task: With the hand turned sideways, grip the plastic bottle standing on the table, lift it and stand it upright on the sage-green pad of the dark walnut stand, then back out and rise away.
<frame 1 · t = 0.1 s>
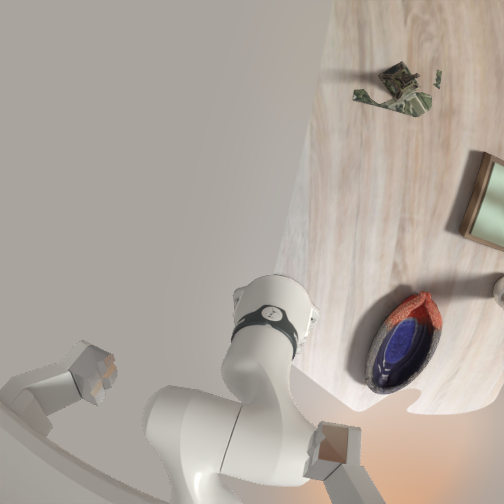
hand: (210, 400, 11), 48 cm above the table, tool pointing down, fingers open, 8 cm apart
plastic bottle: (502, 284, 52), on the table
dish: (401, 339, 64), on the table
eiffel tower figurine: (397, 83, 43), on the table
walnut stand: (499, 203, 45), on the table
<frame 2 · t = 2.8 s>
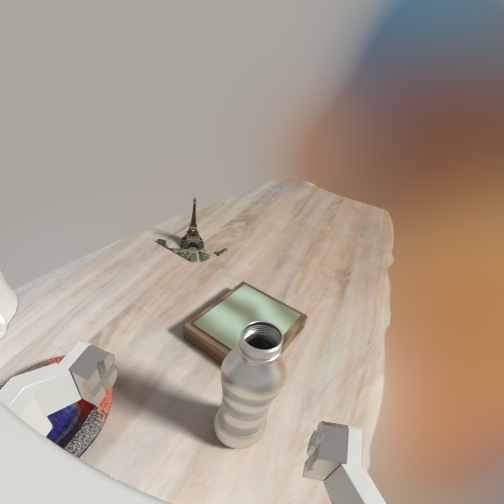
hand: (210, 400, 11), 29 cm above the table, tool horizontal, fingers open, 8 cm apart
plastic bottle: (237, 432, 37), on the table
dish: (45, 432, 30), on the table
eiffel tower figurine: (190, 247, 74), on the table
walnut stand: (246, 333, 53), on the table
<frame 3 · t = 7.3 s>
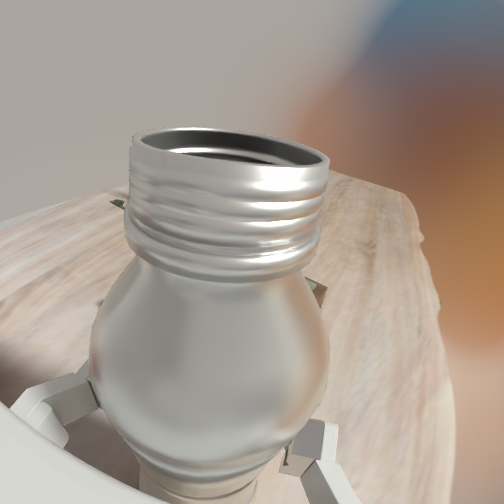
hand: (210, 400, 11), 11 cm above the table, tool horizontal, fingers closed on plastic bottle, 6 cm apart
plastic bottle: (197, 496, 15), on the table, touching gripper
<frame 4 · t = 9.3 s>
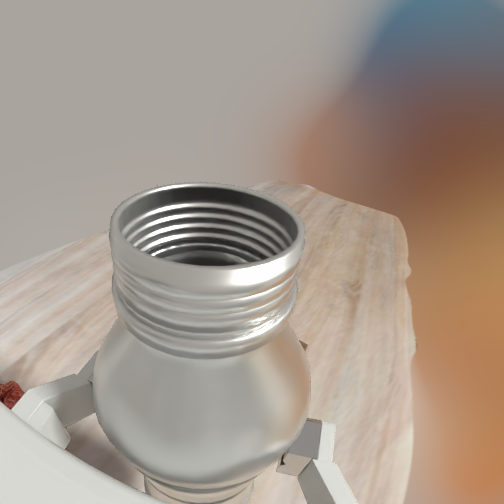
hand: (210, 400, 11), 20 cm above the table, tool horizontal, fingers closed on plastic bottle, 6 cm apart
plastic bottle: (199, 494, 16), point 7 cm above the table, touching gripper
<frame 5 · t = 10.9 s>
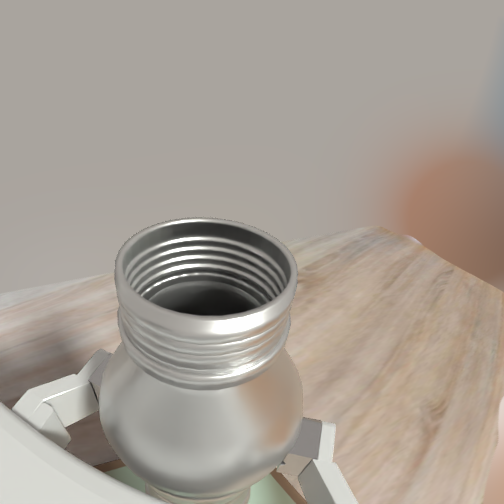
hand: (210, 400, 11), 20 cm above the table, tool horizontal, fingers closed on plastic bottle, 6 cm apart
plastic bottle: (198, 497, 17), point 6 cm above the table, touching gripper
when the fingers open (16 cm above the table, at t = 12.4 s): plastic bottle stays where it is, resting on walnut stand.
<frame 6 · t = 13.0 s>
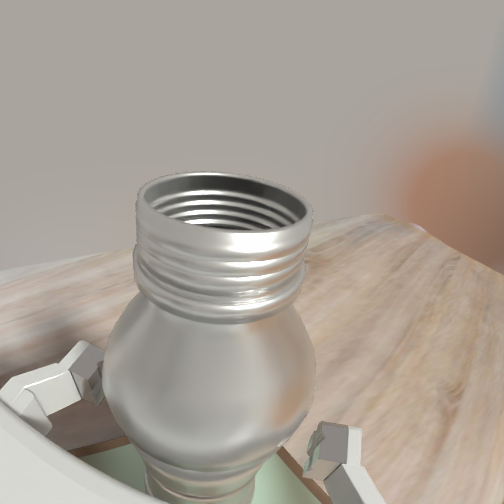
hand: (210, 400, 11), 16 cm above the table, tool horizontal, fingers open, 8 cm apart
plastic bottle: (199, 496, 16), point 3 cm above the table, touching walnut stand
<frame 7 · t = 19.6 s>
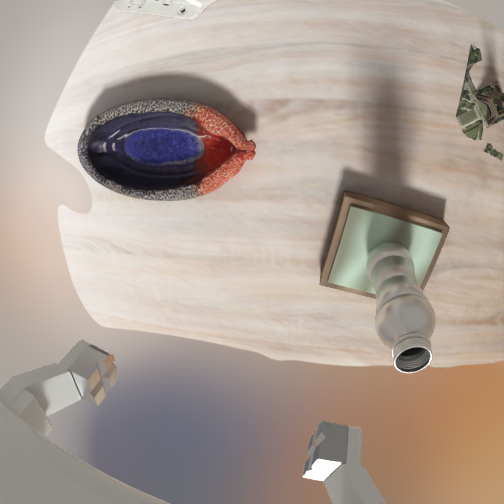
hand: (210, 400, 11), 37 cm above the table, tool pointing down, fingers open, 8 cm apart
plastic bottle: (387, 256, 42), point 3 cm above the table, touching walnut stand
dish: (164, 146, 46), on the table
eiffel tower figurine: (487, 101, 31), on the table
walnut stand: (382, 248, 45), on the table
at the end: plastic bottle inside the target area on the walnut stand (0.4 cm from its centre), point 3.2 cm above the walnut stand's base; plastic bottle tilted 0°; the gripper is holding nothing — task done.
